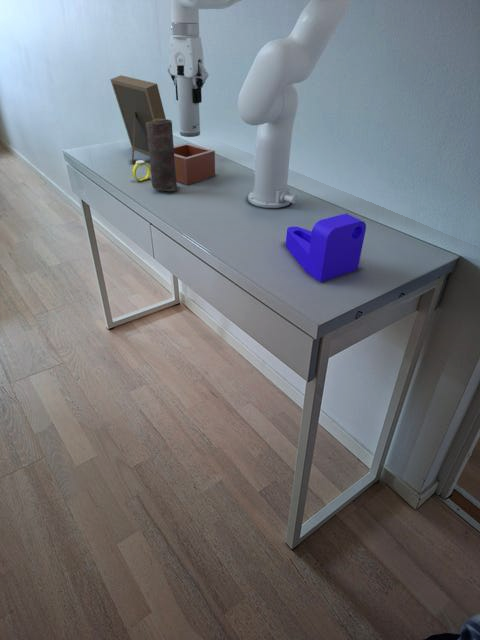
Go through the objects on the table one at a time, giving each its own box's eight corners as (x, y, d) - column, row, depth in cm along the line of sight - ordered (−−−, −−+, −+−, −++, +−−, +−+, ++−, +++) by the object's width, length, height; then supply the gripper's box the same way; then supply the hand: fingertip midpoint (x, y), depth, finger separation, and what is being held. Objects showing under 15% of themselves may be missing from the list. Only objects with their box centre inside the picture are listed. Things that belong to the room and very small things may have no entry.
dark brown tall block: (160, 195, 134) (154, 123, 122) (147, 188, 138) (140, 118, 127) (181, 190, 138) (178, 120, 126) (168, 183, 142) (164, 115, 131)
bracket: (357, 269, 101) (367, 219, 94) (320, 281, 96) (328, 230, 89) (305, 238, 113) (311, 192, 106) (270, 248, 108) (273, 200, 101)
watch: (147, 177, 147) (146, 158, 143) (152, 179, 145) (151, 160, 142) (132, 181, 143) (129, 162, 140) (137, 183, 142) (134, 164, 138)
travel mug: (200, 137, 139) (197, 62, 128) (178, 136, 139) (174, 62, 128) (202, 132, 144) (199, 60, 133) (181, 132, 144) (177, 60, 133)
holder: (215, 175, 150) (215, 150, 145) (187, 185, 142) (186, 159, 137) (187, 167, 157) (186, 143, 152) (159, 175, 148) (157, 150, 144)
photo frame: (141, 146, 175) (134, 74, 161) (175, 160, 163) (171, 82, 148) (107, 153, 167) (96, 77, 152) (140, 167, 154) (132, 86, 140)
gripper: (154, 29, 128) (160, 99, 138) (198, 32, 119) (201, 107, 130) (173, 29, 133) (177, 96, 143) (217, 31, 124) (218, 103, 134)
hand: (188, 100), depth 136 cm, fingers closed on travel mug, 6 cm apart
